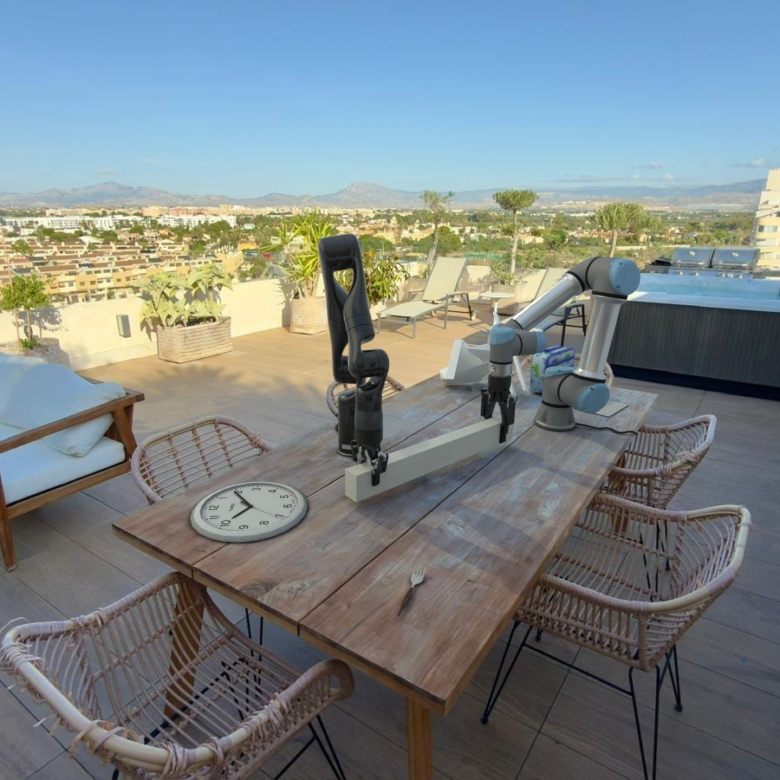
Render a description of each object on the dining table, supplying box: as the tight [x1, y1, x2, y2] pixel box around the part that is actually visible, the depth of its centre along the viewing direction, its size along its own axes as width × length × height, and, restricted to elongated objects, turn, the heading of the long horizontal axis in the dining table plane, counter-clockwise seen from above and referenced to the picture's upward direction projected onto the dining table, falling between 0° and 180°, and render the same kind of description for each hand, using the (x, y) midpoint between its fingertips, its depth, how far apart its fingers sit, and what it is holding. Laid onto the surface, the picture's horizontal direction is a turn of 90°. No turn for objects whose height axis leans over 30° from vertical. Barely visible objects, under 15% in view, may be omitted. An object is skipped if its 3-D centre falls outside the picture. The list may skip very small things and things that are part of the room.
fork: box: [397, 562, 427, 617], centre depth 109 cm, size 3×16×2 cm, turn 160°
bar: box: [344, 414, 515, 503], centre depth 161 cm, size 68×5×8 cm, turn 131°
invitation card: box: [595, 399, 629, 418], centre depth 226 cm, size 21×1×15 cm
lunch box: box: [529, 345, 576, 394], centre depth 244 cm, size 26×11×21 cm, turn 135°
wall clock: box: [190, 481, 308, 544], centre depth 139 cm, size 30×2×30 cm
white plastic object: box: [438, 310, 531, 397], centre depth 245 cm, size 37×45×31 cm
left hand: (368, 481), depth 143 cm, fingers closed on bar, 5 cm apart
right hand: (495, 439), depth 179 cm, fingers closed on bar, 5 cm apart
